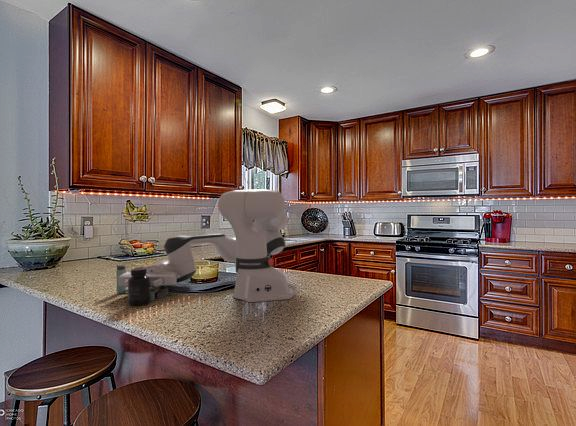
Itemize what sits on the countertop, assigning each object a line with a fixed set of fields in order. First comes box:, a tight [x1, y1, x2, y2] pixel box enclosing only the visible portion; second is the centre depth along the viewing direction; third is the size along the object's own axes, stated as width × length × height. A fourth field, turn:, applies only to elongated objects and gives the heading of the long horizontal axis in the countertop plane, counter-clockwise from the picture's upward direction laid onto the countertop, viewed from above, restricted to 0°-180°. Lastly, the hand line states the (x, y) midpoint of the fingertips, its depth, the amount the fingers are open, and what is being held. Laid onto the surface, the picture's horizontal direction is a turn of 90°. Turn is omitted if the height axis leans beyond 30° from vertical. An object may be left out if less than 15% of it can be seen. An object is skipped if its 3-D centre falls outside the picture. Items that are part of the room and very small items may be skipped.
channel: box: [156, 287, 169, 300], centre depth 120 cm, size 10×8×2 cm
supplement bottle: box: [127, 267, 151, 307], centre depth 111 cm, size 7×7×12 cm
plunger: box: [115, 264, 159, 301], centre depth 120 cm, size 18×13×10 cm
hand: (139, 284), depth 112 cm, fingers open, 8 cm apart
